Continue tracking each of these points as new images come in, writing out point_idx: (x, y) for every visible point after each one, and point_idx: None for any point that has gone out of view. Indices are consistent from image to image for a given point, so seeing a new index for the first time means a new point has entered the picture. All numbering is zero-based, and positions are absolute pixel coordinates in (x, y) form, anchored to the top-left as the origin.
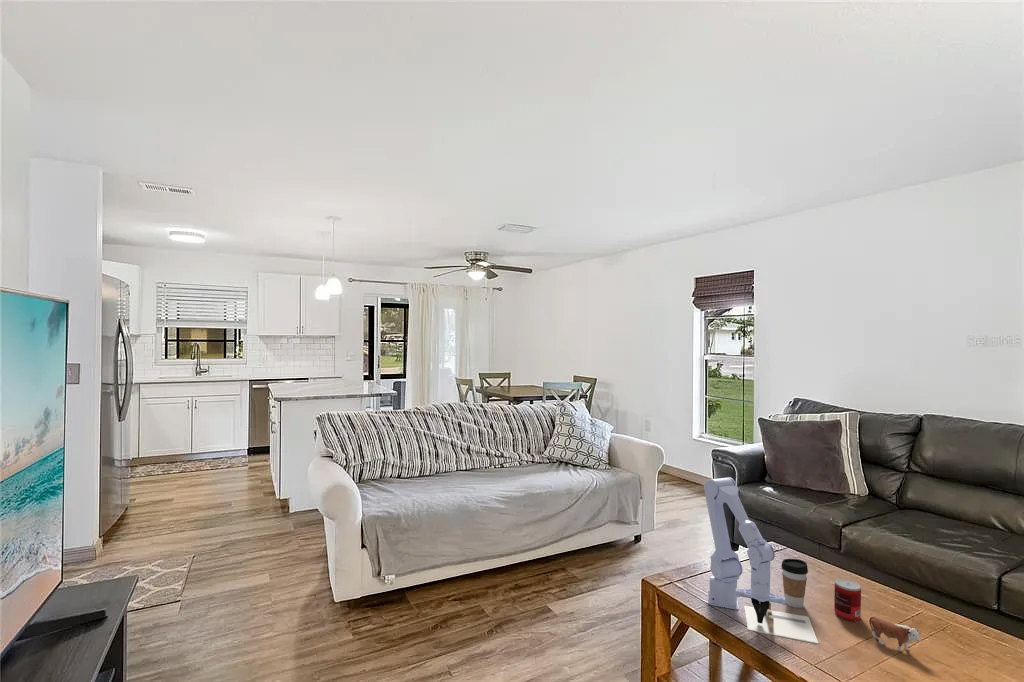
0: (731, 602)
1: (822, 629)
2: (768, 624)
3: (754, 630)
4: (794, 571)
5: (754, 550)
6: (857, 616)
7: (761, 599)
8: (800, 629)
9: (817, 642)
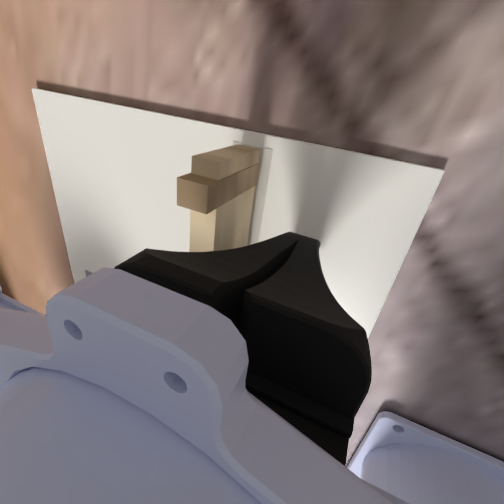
0: (425, 474)
1: (41, 233)
2: (246, 238)
3: (383, 159)
4: None
5: None
6: None
7: (115, 328)
8: (102, 217)
9: (34, 92)
